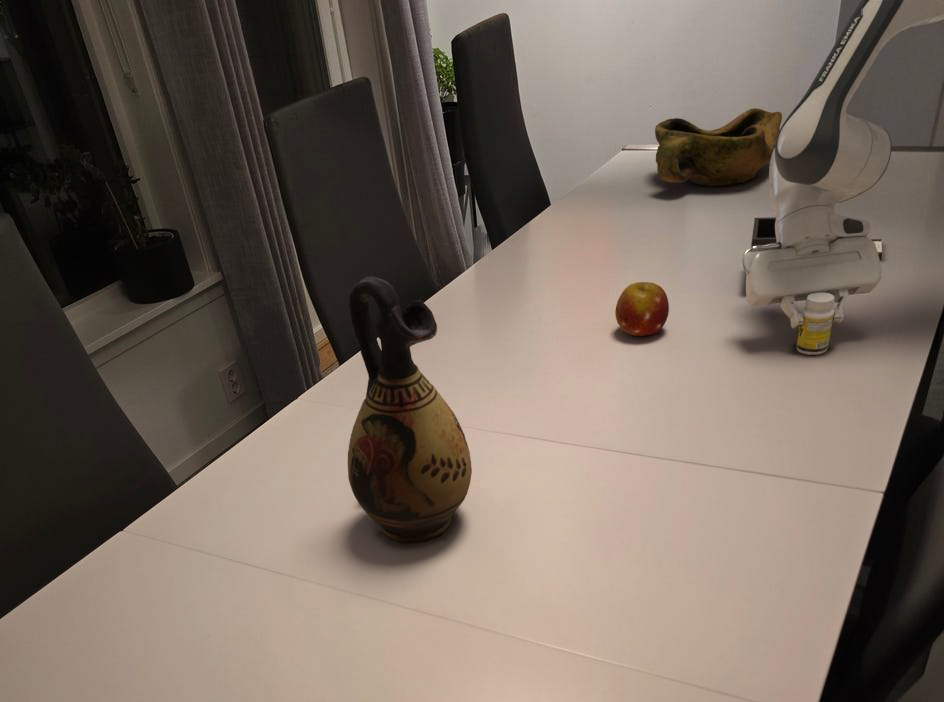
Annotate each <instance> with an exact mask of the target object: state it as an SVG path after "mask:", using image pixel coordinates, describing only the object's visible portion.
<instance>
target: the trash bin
mask: <svg viewBox="0 0 944 702" xmlns="http://www.w3.org/2000/svg"><path fill="white" fill-rule="evenodd" d="M775 222H776V216H775V217H774V216H773V217H771V216H770V217H754V222H753V229H752V235H751V243H750V247H751V246H754V245H766V244H770V243H777V241H776V234H775ZM745 296H746V292H745Z"/></svg>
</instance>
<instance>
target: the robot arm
mask: <svg viewBox="0 0 944 702" xmlns="http://www.w3.org/2000/svg"><path fill="white" fill-rule="evenodd" d="M943 20H944V0H860V1H859V2H858V4H857V6H856V8H855V9H854V11H853V12H852V14H851V16H850V17H849V19H848V21H847V23H846V24H845V26H844V27H843V30H842V31H841V32H840V35H839V36H838V38H837V40H836V41H835V43H834V45H833V47H832V49H831V50H830V51H829V54H828V55H827V56H826V58H825V60H824V62H823V64H822V66H821V67H820V68H819V70H818V73H816V76H815V77H814V79H813V81H812V83H810V86H809V88H808V89H807V90H806V92H805V94H804V95H803V96H802V98H801V99H800V101H799V102H798V103H797V105H796V106H795V107H794V108H793V110H791V112H790V114H789V115H788V116H787V118H786V119H785V120H784V122H783V123H782V125H781V126H780V130H779V133H778V136H777V139H776V144H775V148H774V150H773V153H772V156H771V160H770V161H769V170H768V174H769V175H768V182H769V194H770V201H771V206H772V210H773V211H774V214H775V217H776V222H775V234H776V241H777V243H770V244H766V245H754V246H751V245H750V248H748V249H746V250H745V251H744V253H743V254H742V257H741V261H742V268H743V271H744V272H745V273H746V274H745V275H746V276H745V293H746V295H745V298H746V301H747V303H748V304H749V305H750V306H751V307H760V306H768V305H777V304H780V308H781V310H782V312H783V313H784V314H785V315H786V316H787V317H788V319H789V322H790V327H791V328H792V329H796V328H800V327H802V325H804V318H803V317H804V314H803V312H802V311H800V312H799V311H798V310H797V309H796V307H795V306H794V305H793V304H794V303H795V302H801V301H806V300H807V296H808V295H809V294H811V293H816V292H824V293H829V294H832V295H833V296H834V303H835V304H837V305H836V307H835V308H833V310H834V316H833V321H832V324H840V323H842V321H844V319H845V315H844V307H845V306H846V303H847V301H848V299H849V296H853V295H861V294H869V293H871V292H872V291H873V290H874V289H875V288H876V287H877V286H878V285H879V283H880V282H881V280H882V278H883V277H882V276H883V272H882V271H883V270H882V265H881V259H879V255H878V252H877V248H876V246H875V244H874V242H873V241H872V240H871V239H872V238H869V237H868V235H870V232H871V225H870V222H869V221H867V220H865V219H859V218H854V217H849V216H844V215H842V214H838V213H836V212H835V206H836V204H839V203H843V202H846V201H849V200H851V199H854V198H856V197H858V196H860V195H862V194H863V193H866V192H867V191H869V190H870V189H872V188H873V187H874V186H875V185H876V184H877V183H879V181H880V180H881V178H882V177H883V176H884V174H885V173H886V171H887V169H888V166H889V164H890V161H891V156H892V140H891V136H890V134H889V132H888V131H887V130H886V129H885V128H884V127H881V126H879V124H878V125H877V124H876V123H873V122H871V121H868V120H867V119H863V118H861V117H856V116H854V115H852V114H849V113H847V108H848V105H849V103H850V102H851V100H852V98H853V97H854V95H855V93H856V92H857V90H858V89H859V87H860V85H861V83H862V82H863V81H864V78H865V77H866V76H867V73H868V72H869V70H870V69H871V67H872V65H873V64H874V62H875V60H876V59H877V57H878V56H879V54H880V52H881V51H882V49H883V48H884V47H885V45H887V43H888V42H889V41H890V40H891V39H892V38H893V37H895V36H896V35H897V34H899V33H901V32H902V31H905V30H906V29H909V28H913V27H918V26H924V25H930V24H934V23H937V22H941V21H943Z"/></svg>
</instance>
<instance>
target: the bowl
mask: <svg viewBox="0 0 944 702" xmlns="http://www.w3.org/2000/svg"><path fill="white" fill-rule="evenodd" d="M782 119H783V113H782V111H774V112H771V111H768V110H765V109H762V108H755V107H754V108H749V109H747V110H746V111H744V112H742V113H740V114H739V115H738V116H737V117H735V118H734V119H733V120H730V122H728V123H726V124H725V125H722V126H721V127H719V128H716V129H711V130H707V129H703V128H700V127H698V126H697V125H695V124H694V123H692V122H691V121H689V120H686V119H683V118H679V117H674V118H668V119H665V120H663V121H660V122H658V123H657V124H656V125H655V128H654V134H655V139H656V141H657V143H658V146H657V150H656V153H655V162H656V165H657V167H656V168H657V169H656V172H657V174H658V177H659V179H660V180H662V181H663V182H666V183H684V182H686V181H687V180H690V181H691V182H692V183H693V184H697V185H702V186H711V187H715V186H722V187H723V186H730V185H738V184H742V183H746V182H748V181H750V180H752V179H754V178H756V176H757V174H758V171H759V170H760V169H761V168H763V167H764V166H766V165H767V164H769V163H770V160H771V156H772V153H773V150H774V148H775V144H776V139H777V136H778V133H779V131H780V129H781V123H782V121H783V120H782Z"/></svg>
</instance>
